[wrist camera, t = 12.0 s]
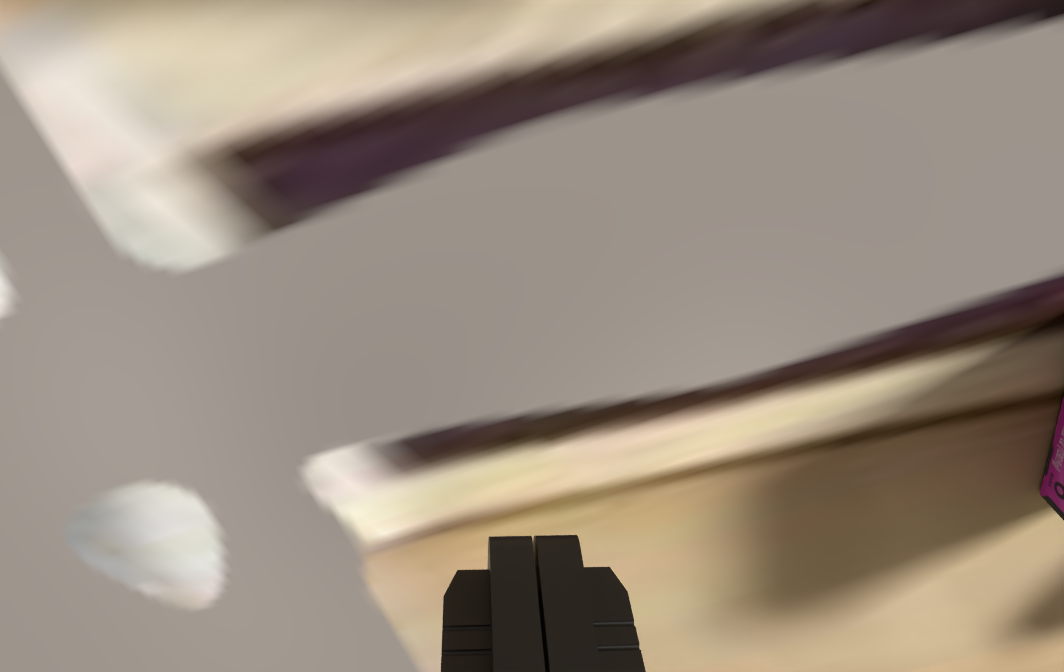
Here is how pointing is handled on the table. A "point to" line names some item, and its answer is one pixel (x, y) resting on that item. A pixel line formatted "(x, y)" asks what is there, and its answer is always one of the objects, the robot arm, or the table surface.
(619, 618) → the robot arm
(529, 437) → the table surface
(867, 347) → the table surface
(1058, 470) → the candy bar box
